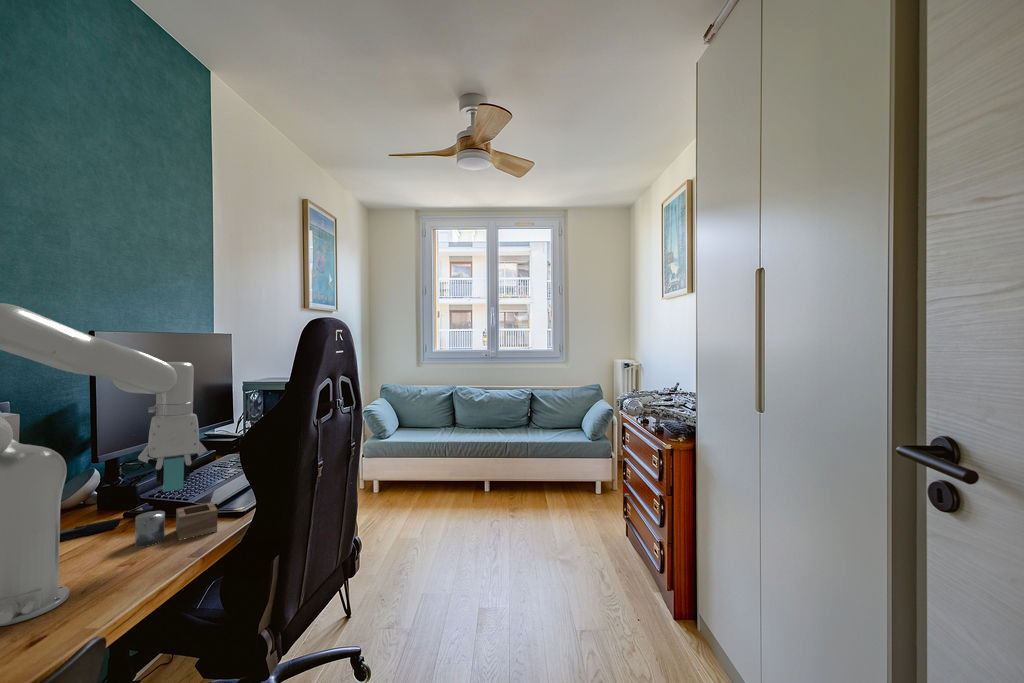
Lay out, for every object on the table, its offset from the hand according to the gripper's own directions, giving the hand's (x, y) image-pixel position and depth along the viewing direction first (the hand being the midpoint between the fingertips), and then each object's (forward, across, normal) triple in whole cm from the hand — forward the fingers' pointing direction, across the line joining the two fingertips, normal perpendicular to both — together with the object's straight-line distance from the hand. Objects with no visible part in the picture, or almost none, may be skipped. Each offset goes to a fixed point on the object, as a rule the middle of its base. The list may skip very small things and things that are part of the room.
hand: (173, 481), depth 112 cm
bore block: (+17, +6, +9) cm, 20 cm away
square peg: (+2, 0, 0) cm, 2 cm away
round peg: (+17, -4, +9) cm, 20 cm away
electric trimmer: (+18, -18, +26) cm, 36 cm away
